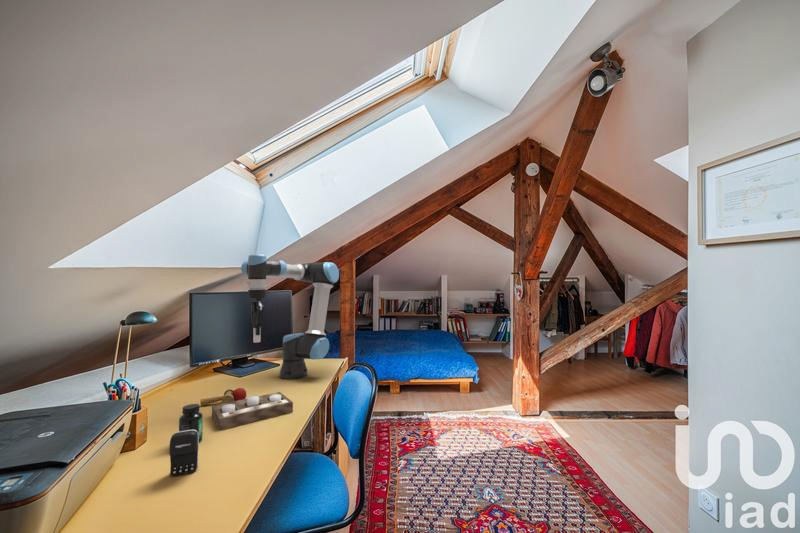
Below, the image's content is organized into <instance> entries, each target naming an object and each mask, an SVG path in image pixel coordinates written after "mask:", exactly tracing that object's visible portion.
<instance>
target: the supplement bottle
mask: <svg viewBox="0 0 800 533" xmlns="http://www.w3.org/2000/svg"><path fill="white" fill-rule="evenodd" d="M181 414H182V415H181V416H180V417H179V419H178V432H179V431H184V430H191V429H194V430H197V432H198V435H199V443H201V442H202V440H203V428H204V426H203V425H204V424H203V421H204V420H203V413H202V412H201V411H200V403H191V404H186V405H184V406H183V407H182V411H181Z"/></svg>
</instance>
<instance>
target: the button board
mask: <svg viewBox="0 0 800 533" xmlns="http://www.w3.org/2000/svg"><path fill="white" fill-rule="evenodd" d="M274 394H280V395H281V400H280V401H275V402H270V396H271V395H274ZM258 396H259V405H257V406H253V407H248V408H247V398H245V399H243V400H238V401H233V402H229V403H224V404H222V403H221V404H216V405H211V417H212V419H213V421H214V422H215V424H216V426H217V429H218V430H219V431H222V430H226V429H229V428H230V429H231V428H234V427H238V426H241V425H242V426H243V425H245V424H250V423H255V422H258V420H259V421H261V420H262V419H263V420H266V418H267V419H271V418H273V417H278V416H282V415H286V414H290V413H293V412H294V402H293V401H292V399H289V397H287V396H286V395H285V394H283V393H282V392H280V391H277V392H272V393H268V394H262V395H258ZM227 404H235V411H231V412H226V413H222V406H224V405H227ZM270 417H271V418H270ZM254 421H255V422H254Z"/></svg>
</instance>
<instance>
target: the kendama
mask: <svg viewBox="0 0 800 533" xmlns="http://www.w3.org/2000/svg"><path fill="white" fill-rule="evenodd" d="M243 399H247V391H246V389H245V388H242V387H238V388H236V389H233V388H228V389H226V390H225V391H224V393H223V395H221V396H214V397H213V396H212V397H206V398H201V399H200V401H199V405H200V407H204V406H208V405H211V404H215V403H218V402H220V401H221V404H224V403H229V402H234V401H238V400H243Z"/></svg>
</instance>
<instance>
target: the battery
mask: <svg viewBox="0 0 800 533" xmlns="http://www.w3.org/2000/svg"><path fill="white" fill-rule="evenodd" d="M168 449H169V452H168V453H169V454H168V455H169V457H170V458H169V460H170V472H169V475H170V476H171V477H177V476H183V475H188V474H192V473H195V472H196V471H197V470H198V469H199V468H198V467H199V435H198V432H197V430H194V429H191V430H184V431H179V430H178V431H176V432H174V433H172V435H171V437H170V440H169V448H168Z"/></svg>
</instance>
